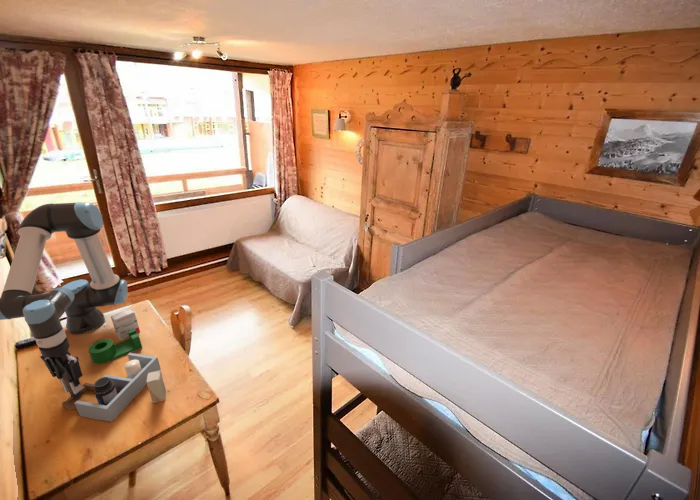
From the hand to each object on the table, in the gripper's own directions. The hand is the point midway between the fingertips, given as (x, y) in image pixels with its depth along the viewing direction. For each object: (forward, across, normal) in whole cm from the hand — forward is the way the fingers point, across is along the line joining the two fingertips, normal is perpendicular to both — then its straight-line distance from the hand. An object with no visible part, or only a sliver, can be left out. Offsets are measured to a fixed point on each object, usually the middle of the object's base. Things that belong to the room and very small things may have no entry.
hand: (74, 390), depth 122 cm
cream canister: (+4, +15, +12) cm, 20 cm away
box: (+4, +30, +6) cm, 31 cm away
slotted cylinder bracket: (+4, -5, +24) cm, 25 cm away
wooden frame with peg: (+3, +9, 0) cm, 9 cm away
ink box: (+4, -9, +36) cm, 37 cm away
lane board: (+4, +15, +6) cm, 16 cm away
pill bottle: (+4, +14, 0) cm, 15 cm away
